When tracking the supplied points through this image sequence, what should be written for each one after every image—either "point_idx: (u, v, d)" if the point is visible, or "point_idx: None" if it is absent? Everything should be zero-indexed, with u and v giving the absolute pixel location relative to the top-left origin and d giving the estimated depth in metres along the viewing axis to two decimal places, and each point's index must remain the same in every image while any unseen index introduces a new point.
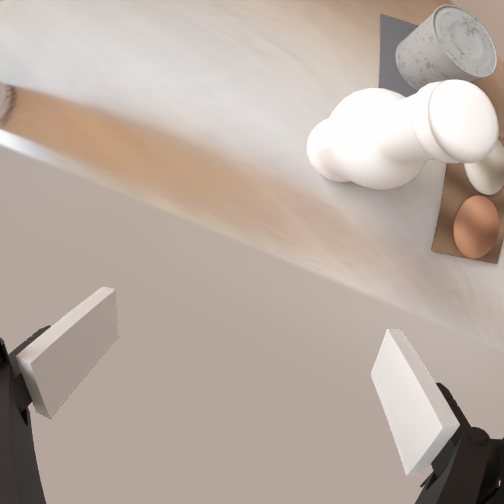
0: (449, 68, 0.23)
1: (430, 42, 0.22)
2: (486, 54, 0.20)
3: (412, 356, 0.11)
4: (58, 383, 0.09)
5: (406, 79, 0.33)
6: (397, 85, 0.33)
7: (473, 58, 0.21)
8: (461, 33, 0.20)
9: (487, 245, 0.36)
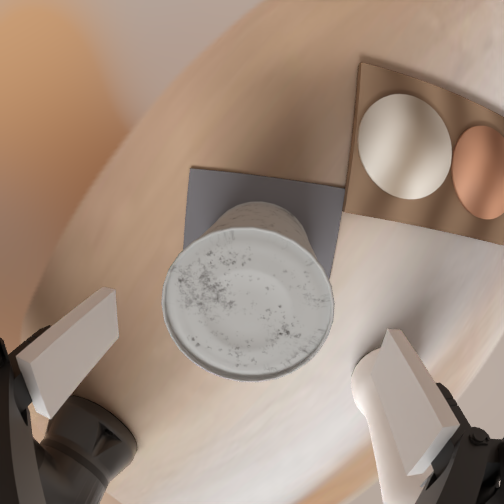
0: None
1: None
2: (265, 261, 0.16)
3: (412, 356, 0.11)
4: (58, 383, 0.09)
5: None
6: None
7: (288, 304, 0.16)
8: (234, 321, 0.17)
9: None
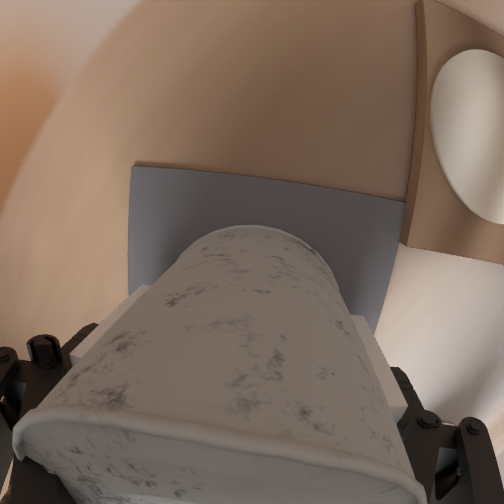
0: None
1: None
2: (250, 498, 0.03)
3: (369, 340, 0.12)
4: None
5: None
6: None
7: None
8: None
9: None
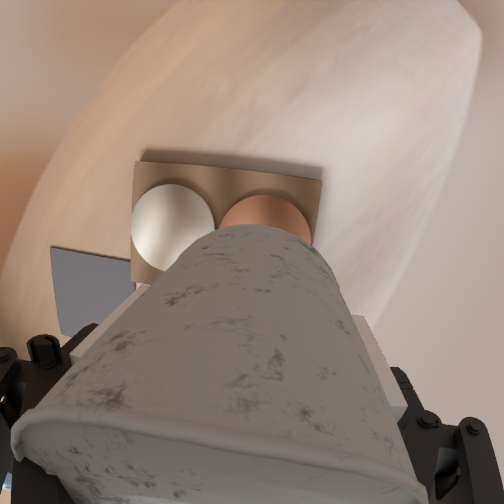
0: None
1: None
2: (250, 499, 0.03)
3: (369, 340, 0.12)
4: None
5: None
6: None
7: None
8: None
9: (290, 217, 0.30)
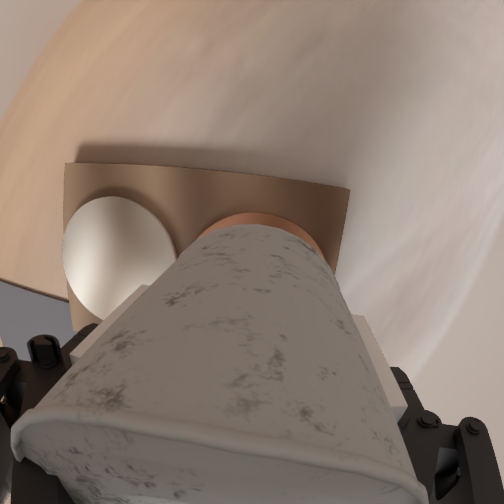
0: None
1: None
2: (250, 499, 0.03)
3: (369, 340, 0.12)
4: None
5: None
6: None
7: None
8: None
9: None
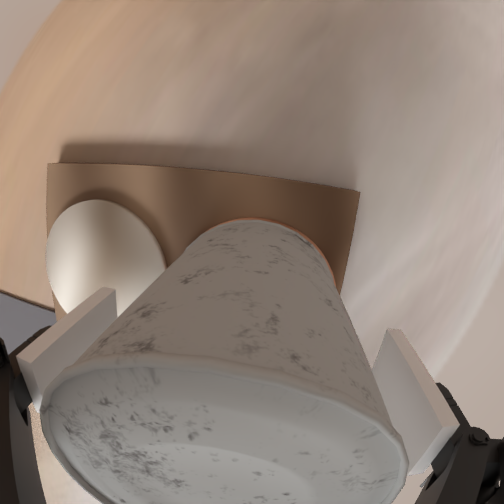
0: None
1: None
2: (252, 437, 0.05)
3: (412, 356, 0.11)
4: None
5: None
6: None
7: (306, 491, 0.05)
8: (189, 501, 0.06)
9: None
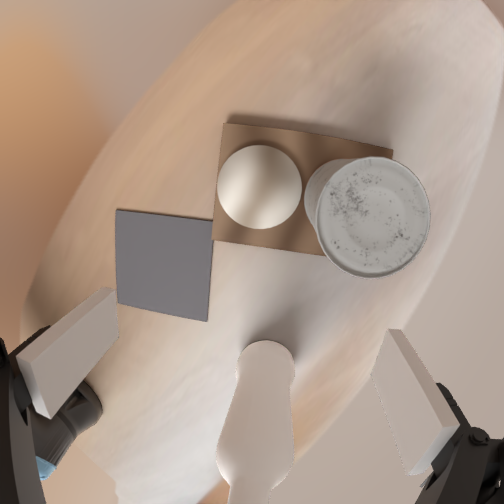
0: None
1: None
2: (390, 182, 0.21)
3: (412, 356, 0.11)
4: (58, 383, 0.09)
5: None
6: (192, 301, 0.41)
7: (402, 213, 0.21)
8: (366, 226, 0.22)
9: None
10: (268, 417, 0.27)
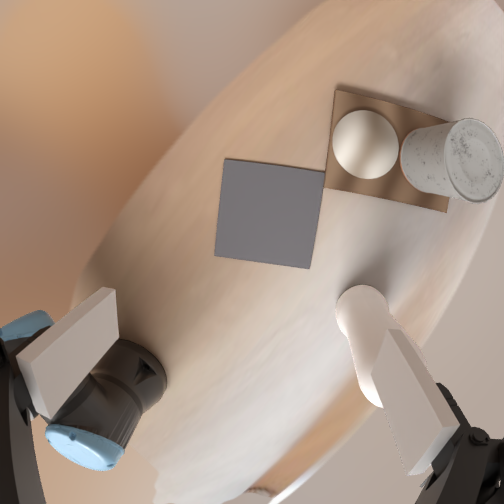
0: None
1: None
2: (482, 136, 0.24)
3: (412, 356, 0.11)
4: (58, 383, 0.09)
5: None
6: (297, 249, 0.44)
7: (489, 158, 0.25)
8: (471, 165, 0.25)
9: None
10: None
